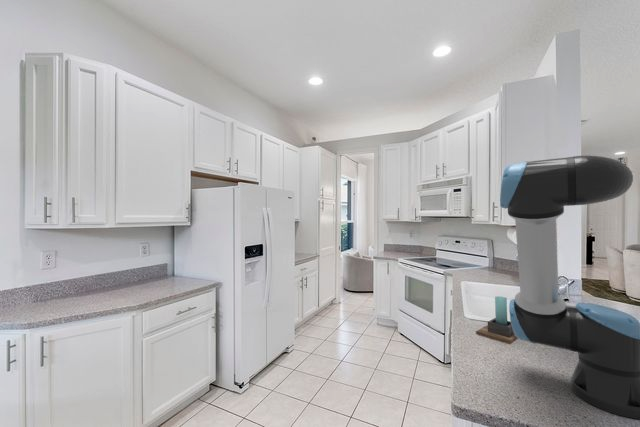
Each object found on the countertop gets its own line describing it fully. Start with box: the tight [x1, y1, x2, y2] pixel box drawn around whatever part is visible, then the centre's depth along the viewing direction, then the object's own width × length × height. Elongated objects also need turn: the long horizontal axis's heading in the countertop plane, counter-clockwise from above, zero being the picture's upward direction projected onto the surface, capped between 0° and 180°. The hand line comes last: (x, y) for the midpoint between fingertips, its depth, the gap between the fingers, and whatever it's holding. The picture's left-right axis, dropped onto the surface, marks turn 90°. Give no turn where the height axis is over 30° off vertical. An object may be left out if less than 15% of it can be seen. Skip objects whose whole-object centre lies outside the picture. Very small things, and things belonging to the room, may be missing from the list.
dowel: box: [494, 296, 508, 326], centre depth 112 cm, size 4×4×14 cm
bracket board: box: [475, 317, 519, 345], centre depth 113 cm, size 14×12×5 cm
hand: (543, 272), depth 106 cm, fingers open, 13 cm apart
